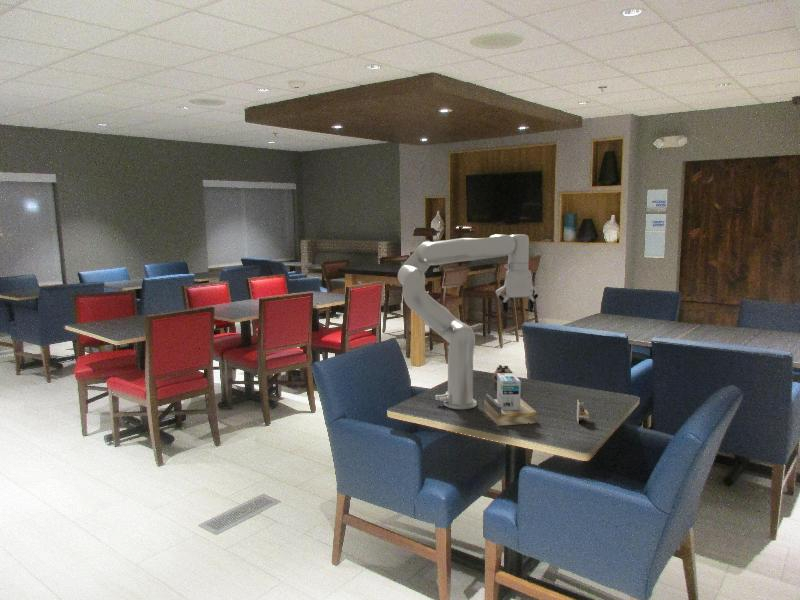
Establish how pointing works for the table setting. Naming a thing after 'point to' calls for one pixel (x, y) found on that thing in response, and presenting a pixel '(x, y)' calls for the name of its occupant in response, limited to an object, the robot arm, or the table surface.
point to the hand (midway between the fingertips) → (517, 311)
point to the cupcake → (500, 370)
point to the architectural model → (579, 412)
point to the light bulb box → (508, 391)
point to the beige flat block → (509, 413)
